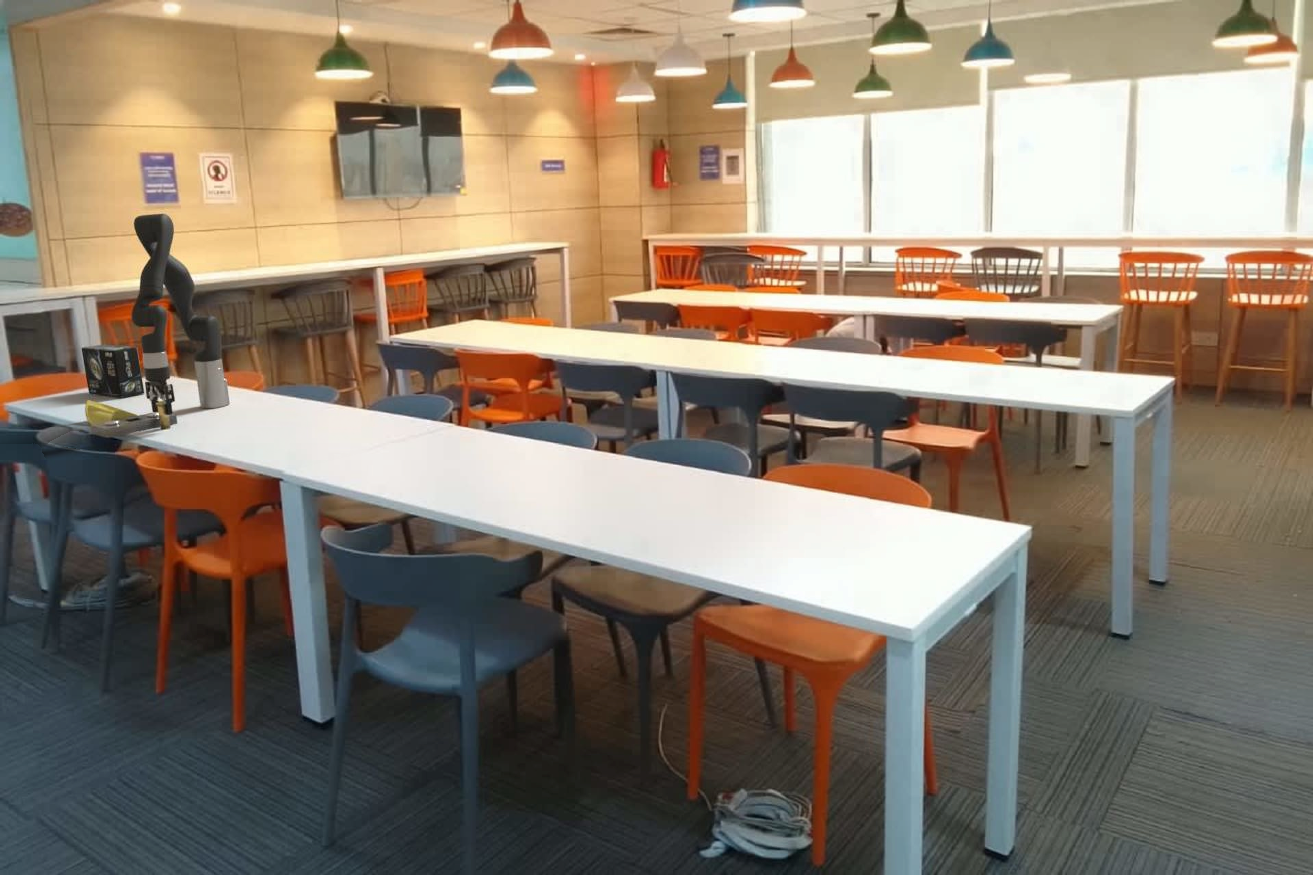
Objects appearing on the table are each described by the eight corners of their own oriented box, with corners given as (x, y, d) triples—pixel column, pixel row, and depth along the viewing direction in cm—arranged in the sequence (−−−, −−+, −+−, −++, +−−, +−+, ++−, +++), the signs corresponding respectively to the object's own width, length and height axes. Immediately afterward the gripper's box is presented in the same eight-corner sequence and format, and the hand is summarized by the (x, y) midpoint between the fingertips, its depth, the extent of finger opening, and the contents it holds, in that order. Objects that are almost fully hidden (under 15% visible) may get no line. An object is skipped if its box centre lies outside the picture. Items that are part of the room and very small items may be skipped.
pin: (168, 426, 357) (164, 400, 354) (173, 427, 354) (170, 401, 352) (157, 428, 354) (153, 402, 351) (163, 430, 351) (159, 403, 349)
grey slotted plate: (161, 419, 367) (159, 409, 366) (177, 423, 361) (175, 412, 360) (90, 433, 349) (89, 422, 348) (106, 437, 342) (104, 426, 341)
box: (87, 394, 419) (80, 347, 414) (111, 389, 427) (104, 343, 422) (121, 399, 407) (114, 350, 402) (145, 394, 415) (138, 346, 410)
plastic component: (140, 415, 364) (113, 408, 355) (133, 436, 363) (106, 429, 355) (110, 406, 375) (83, 398, 366) (103, 425, 374) (76, 418, 366)
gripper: (178, 365, 347) (184, 413, 351) (156, 362, 356) (162, 409, 360) (155, 368, 342) (162, 417, 345) (134, 365, 350) (141, 413, 354)
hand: (162, 413), depth 352 cm, fingers open, 8 cm apart
